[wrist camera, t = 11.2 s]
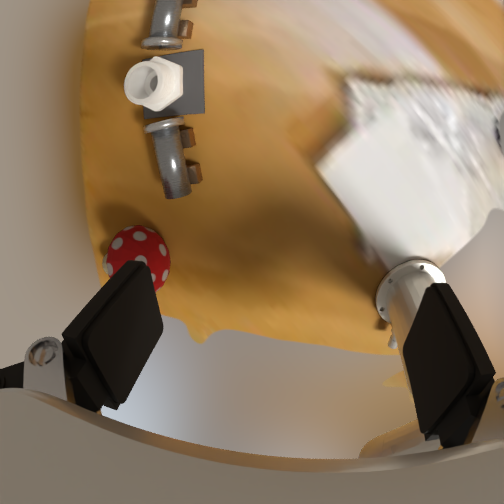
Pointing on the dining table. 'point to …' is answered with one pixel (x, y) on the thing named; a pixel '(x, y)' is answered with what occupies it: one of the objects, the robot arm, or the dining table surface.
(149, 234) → the decorative mushroom
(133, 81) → the pipe fitting
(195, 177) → the shaft
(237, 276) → the dining table surface
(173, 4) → the shaft
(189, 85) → the seat pad
